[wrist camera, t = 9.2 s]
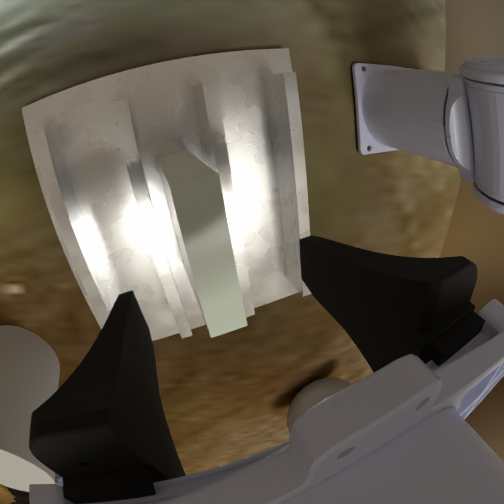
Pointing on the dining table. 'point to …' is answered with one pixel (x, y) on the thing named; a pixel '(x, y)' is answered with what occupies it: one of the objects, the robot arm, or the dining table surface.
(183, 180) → the grey rectangular block
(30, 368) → the white cylinder
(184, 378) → the dining table surface
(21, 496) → the grey napkin holder
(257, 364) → the dining table surface
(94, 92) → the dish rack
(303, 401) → the donut
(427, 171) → the dining table surface
